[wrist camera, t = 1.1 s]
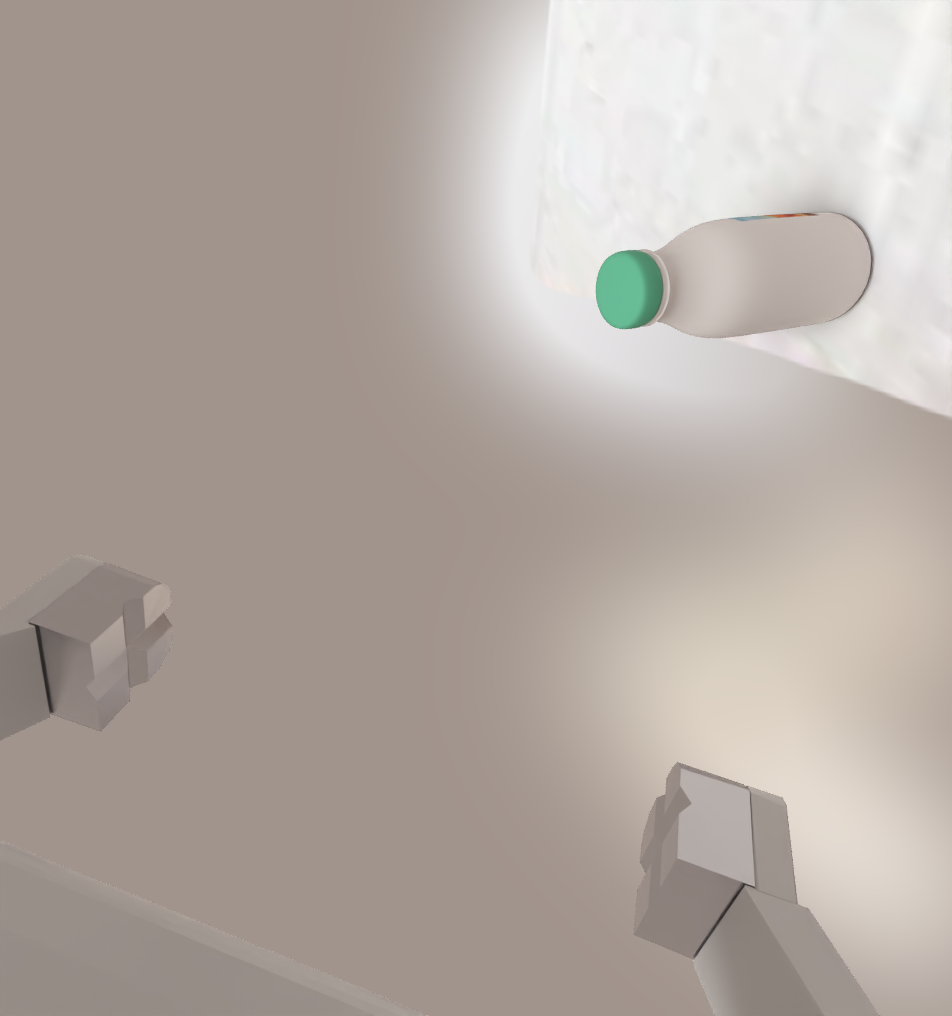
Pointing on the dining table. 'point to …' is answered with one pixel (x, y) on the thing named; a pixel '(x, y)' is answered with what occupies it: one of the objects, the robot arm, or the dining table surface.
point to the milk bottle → (740, 276)
